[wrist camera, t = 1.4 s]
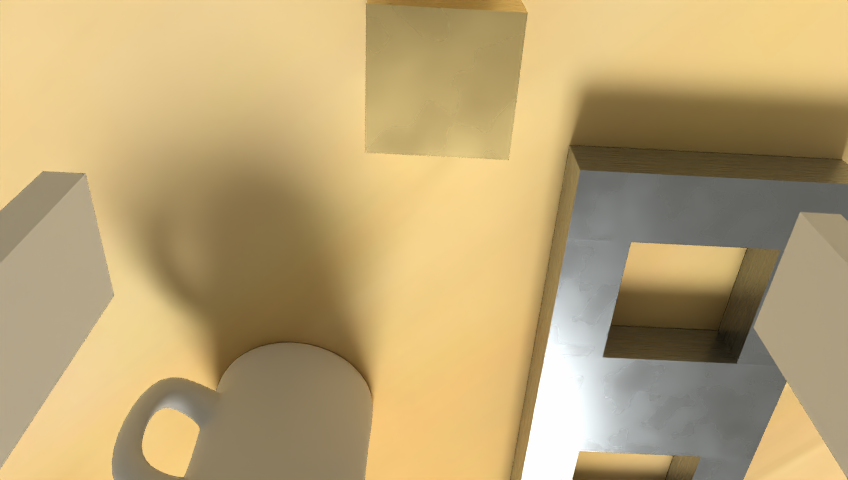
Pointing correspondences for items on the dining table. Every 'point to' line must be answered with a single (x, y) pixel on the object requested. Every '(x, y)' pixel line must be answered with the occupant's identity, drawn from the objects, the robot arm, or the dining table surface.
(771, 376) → the square hole plate
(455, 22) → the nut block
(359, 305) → the dining table surface
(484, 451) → the dining table surface
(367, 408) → the mug
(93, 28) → the dining table surface
